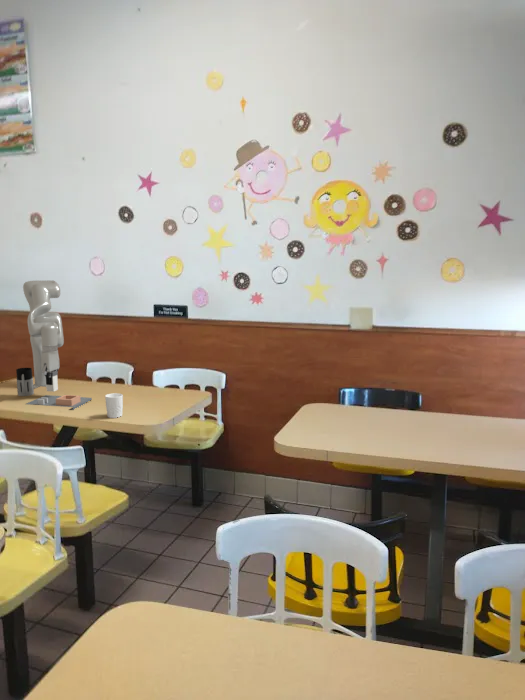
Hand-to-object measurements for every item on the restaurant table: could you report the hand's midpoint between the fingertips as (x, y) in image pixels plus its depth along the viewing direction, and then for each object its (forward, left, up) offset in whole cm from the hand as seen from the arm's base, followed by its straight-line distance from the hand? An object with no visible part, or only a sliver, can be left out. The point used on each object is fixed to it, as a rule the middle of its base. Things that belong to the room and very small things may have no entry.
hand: (51, 383), depth 281 cm
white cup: (+21, +44, -9) cm, 50 cm away
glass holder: (0, -16, -9) cm, 18 cm away
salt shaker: (0, 0, -4) cm, 4 cm away
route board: (+7, +7, -9) cm, 13 cm away
